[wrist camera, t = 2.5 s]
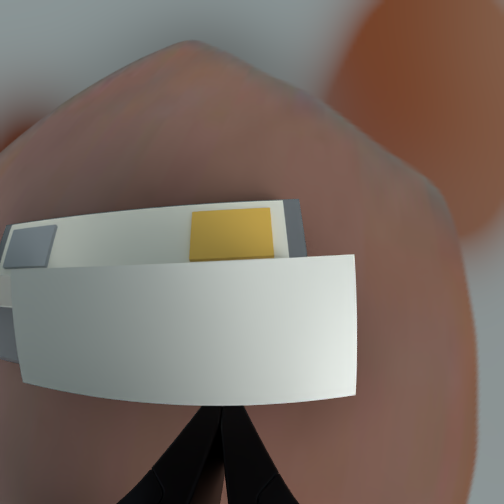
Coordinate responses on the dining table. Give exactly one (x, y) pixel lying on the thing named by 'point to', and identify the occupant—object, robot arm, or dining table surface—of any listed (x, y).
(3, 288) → the lever slate
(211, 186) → the dining table surface
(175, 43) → the dining table surface
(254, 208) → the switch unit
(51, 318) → the white switch lever
